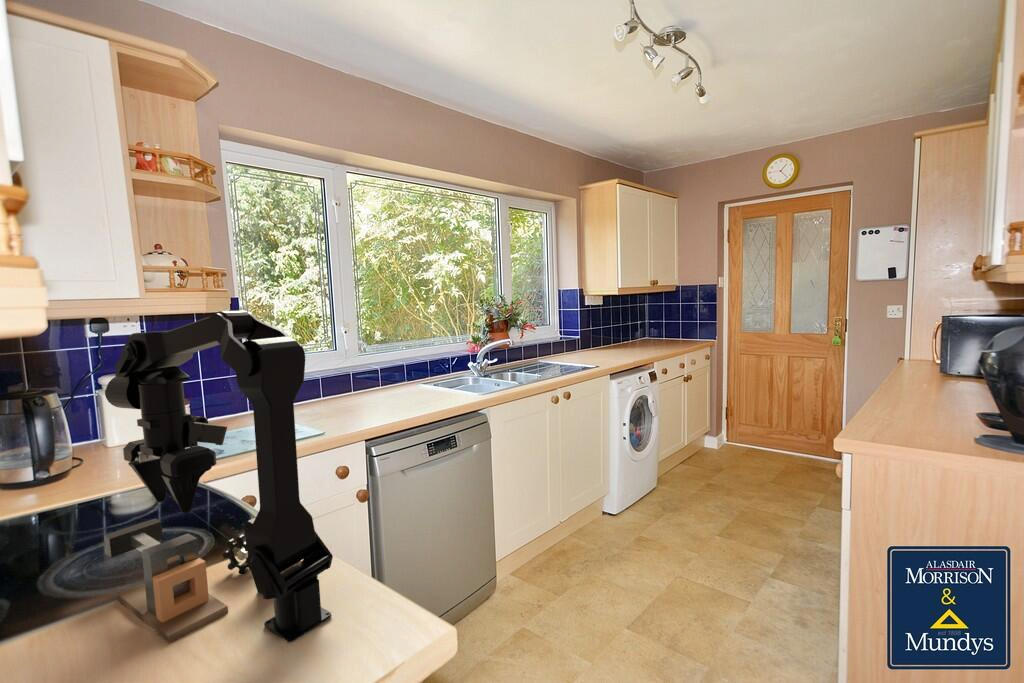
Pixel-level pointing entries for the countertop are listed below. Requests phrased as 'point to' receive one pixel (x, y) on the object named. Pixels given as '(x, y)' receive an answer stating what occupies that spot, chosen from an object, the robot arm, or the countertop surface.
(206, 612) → the base plate
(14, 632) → the countertop surface
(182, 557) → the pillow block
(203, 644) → the countertop surface
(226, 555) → the valve
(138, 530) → the rod
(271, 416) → the robot arm
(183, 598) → the collar
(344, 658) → the countertop surface
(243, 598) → the countertop surface
